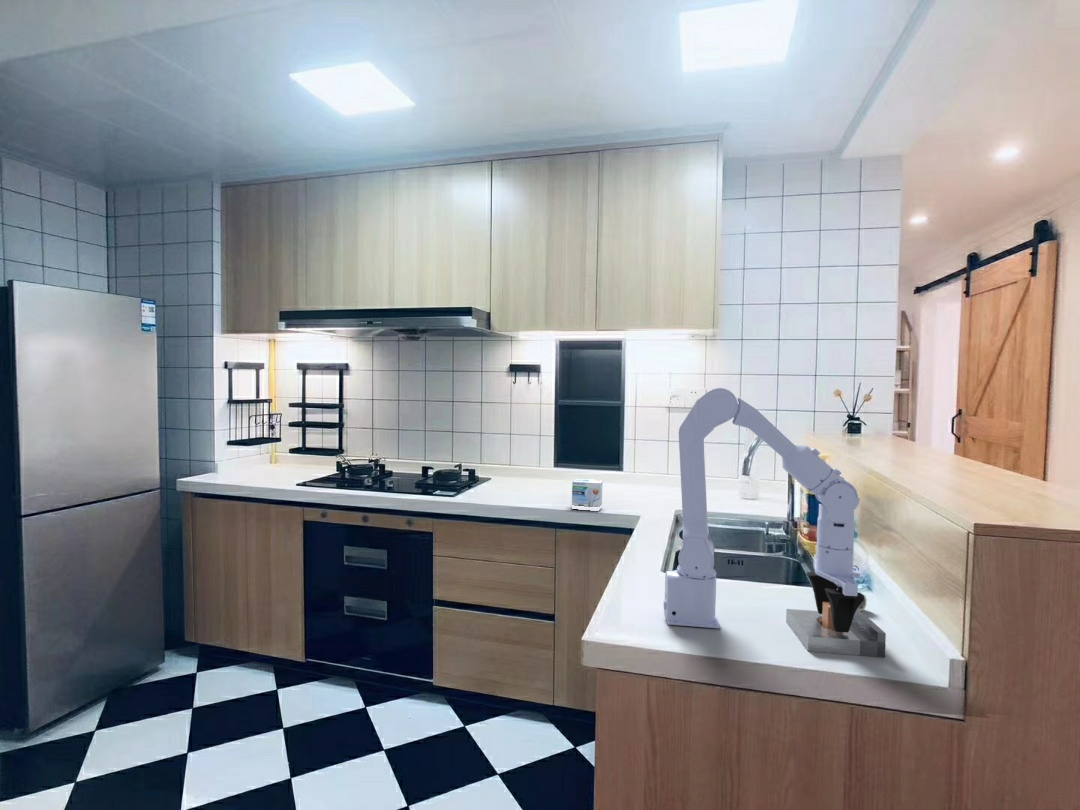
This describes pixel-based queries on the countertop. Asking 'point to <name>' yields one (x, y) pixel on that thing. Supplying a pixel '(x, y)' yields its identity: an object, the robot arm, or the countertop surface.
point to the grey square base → (837, 634)
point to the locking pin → (827, 616)
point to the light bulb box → (587, 493)
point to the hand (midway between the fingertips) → (832, 622)
